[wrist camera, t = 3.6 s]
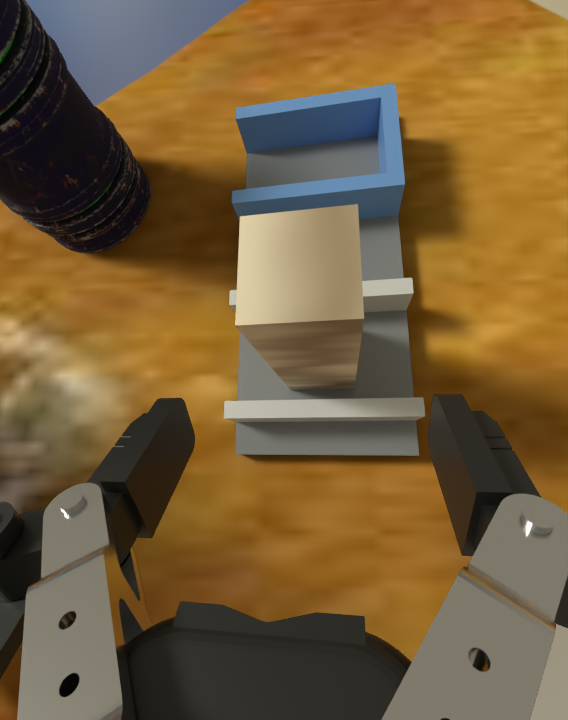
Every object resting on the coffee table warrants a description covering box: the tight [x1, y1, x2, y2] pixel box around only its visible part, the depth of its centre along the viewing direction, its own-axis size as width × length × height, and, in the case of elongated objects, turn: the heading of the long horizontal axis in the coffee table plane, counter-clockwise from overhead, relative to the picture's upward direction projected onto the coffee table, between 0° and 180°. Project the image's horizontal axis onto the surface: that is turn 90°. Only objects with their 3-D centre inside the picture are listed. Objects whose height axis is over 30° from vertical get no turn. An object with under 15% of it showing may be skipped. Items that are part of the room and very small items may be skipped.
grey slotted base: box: [224, 83, 425, 456], centre depth 24 cm, size 11×26×4 cm, turn 0°
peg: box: [235, 204, 364, 390], centre depth 17 cm, size 4×4×12 cm
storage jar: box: [0, 0, 151, 253], centre depth 22 cm, size 10×10×18 cm
